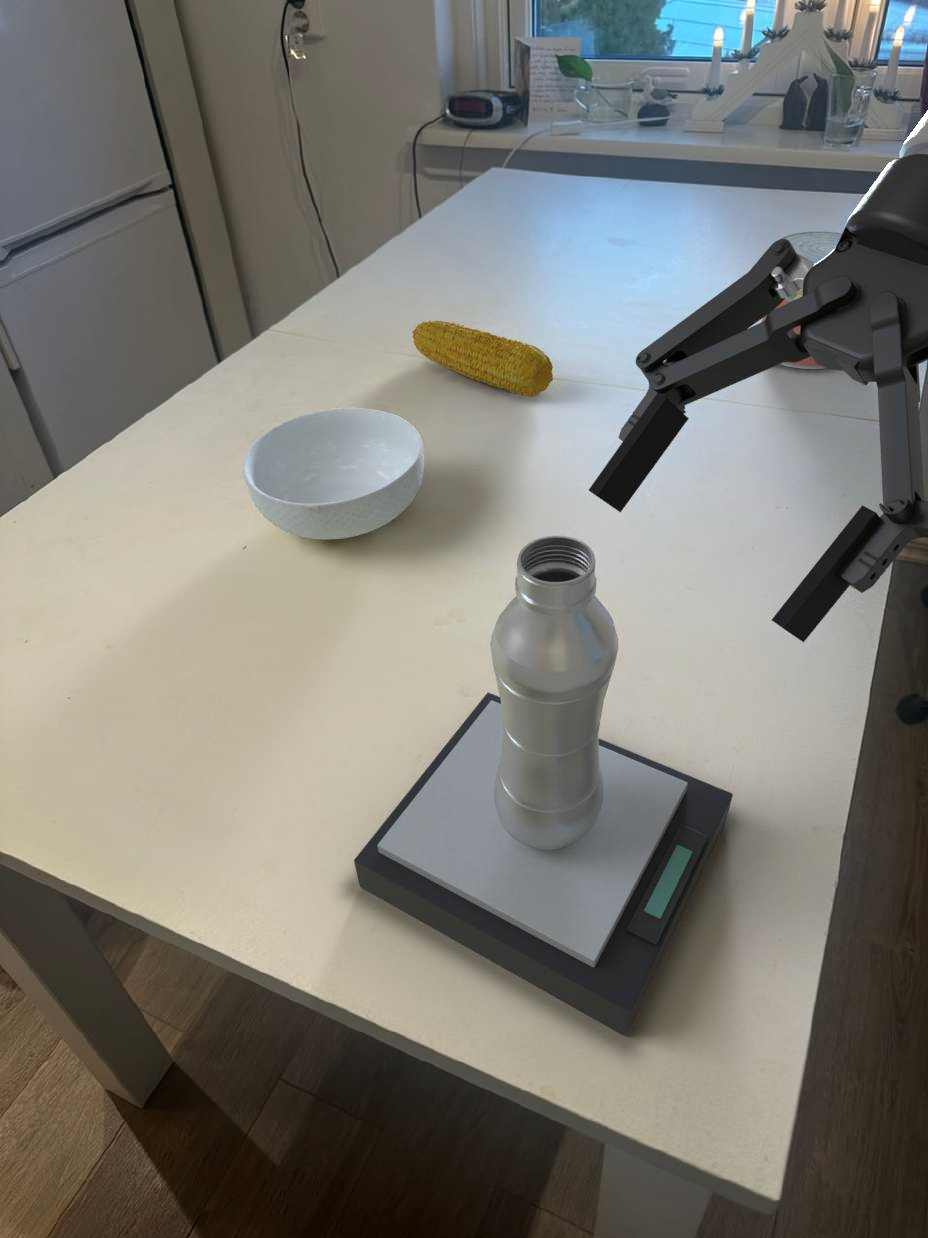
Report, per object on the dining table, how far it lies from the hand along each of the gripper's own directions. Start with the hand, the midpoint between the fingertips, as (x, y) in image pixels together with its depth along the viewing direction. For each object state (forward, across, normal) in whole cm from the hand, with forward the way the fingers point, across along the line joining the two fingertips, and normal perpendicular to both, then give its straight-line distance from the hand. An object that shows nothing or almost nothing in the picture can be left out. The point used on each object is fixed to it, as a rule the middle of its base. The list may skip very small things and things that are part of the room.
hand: (686, 561), depth 46 cm
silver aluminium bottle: (+18, 0, +5) cm, 18 cm away
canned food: (-28, -40, +56) cm, 75 cm away
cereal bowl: (+16, -42, +12) cm, 46 cm away
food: (-3, -58, +31) cm, 66 cm away
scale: (+20, 0, +8) cm, 22 cm away
